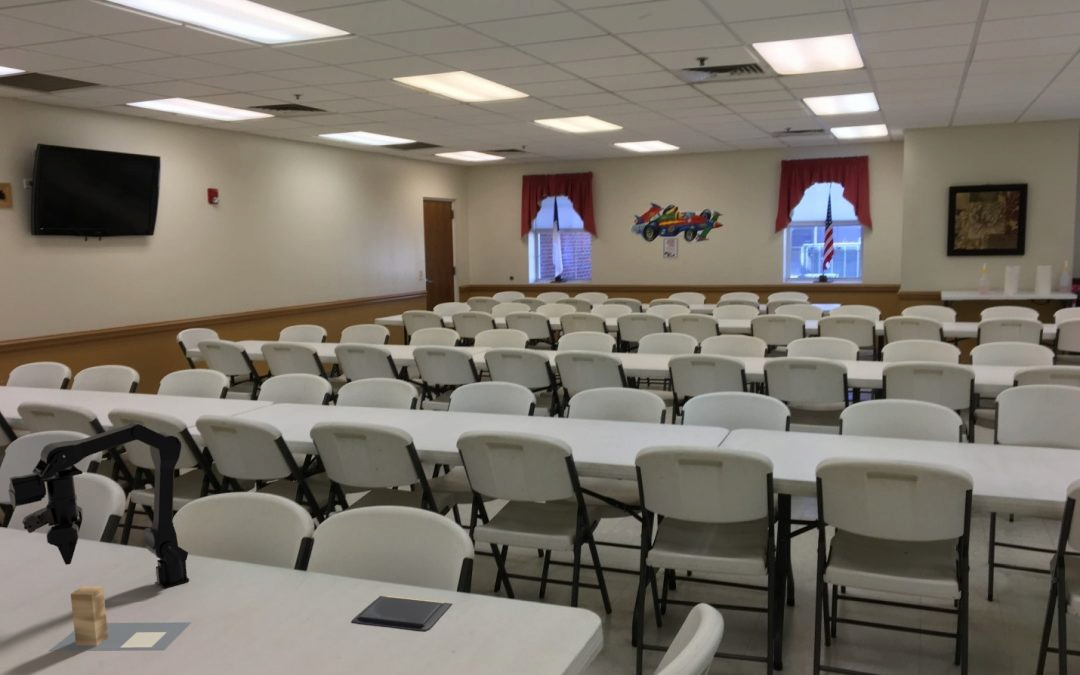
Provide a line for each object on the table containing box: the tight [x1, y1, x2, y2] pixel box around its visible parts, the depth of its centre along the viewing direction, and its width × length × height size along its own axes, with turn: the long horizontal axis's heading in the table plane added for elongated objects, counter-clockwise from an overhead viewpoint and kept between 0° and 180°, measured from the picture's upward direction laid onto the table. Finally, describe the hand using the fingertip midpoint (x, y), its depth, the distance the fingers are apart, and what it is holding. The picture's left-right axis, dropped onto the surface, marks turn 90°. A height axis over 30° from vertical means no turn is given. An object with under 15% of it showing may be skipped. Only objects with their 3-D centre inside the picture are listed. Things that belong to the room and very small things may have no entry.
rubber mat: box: [48, 621, 192, 652], centre depth 189 cm, size 26×13×1 cm, turn 87°
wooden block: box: [70, 585, 108, 646], centre depth 186 cm, size 4×5×12 cm
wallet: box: [350, 595, 453, 633], centre depth 198 cm, size 20×2×15 cm
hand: (69, 557), depth 202 cm, fingers open, 9 cm apart
